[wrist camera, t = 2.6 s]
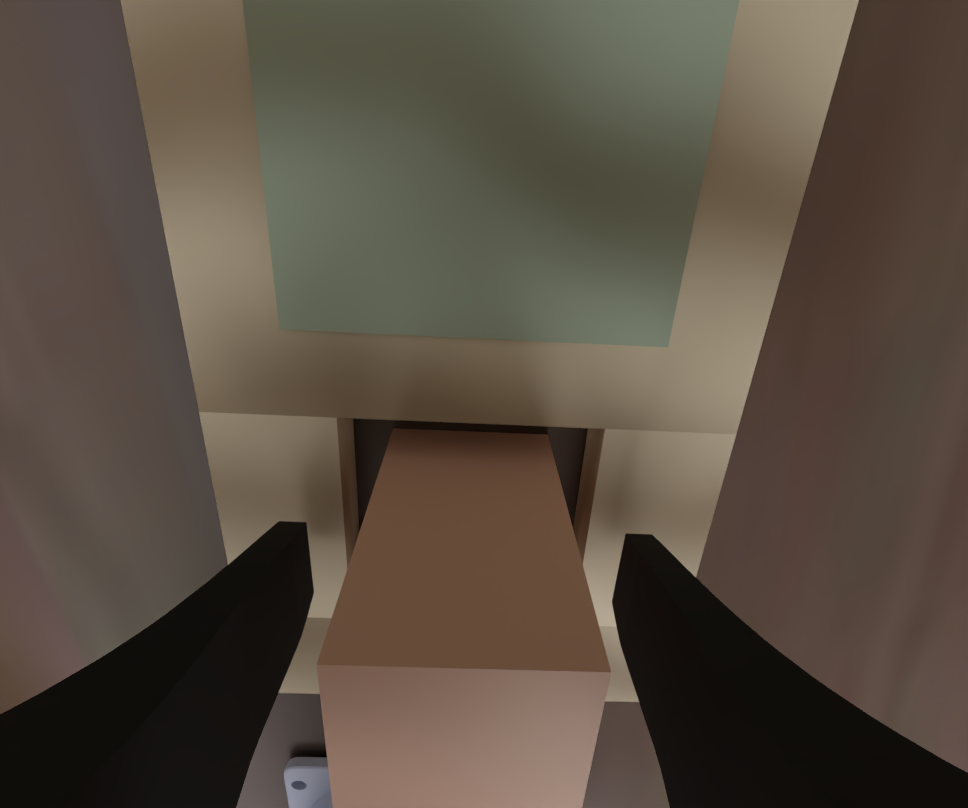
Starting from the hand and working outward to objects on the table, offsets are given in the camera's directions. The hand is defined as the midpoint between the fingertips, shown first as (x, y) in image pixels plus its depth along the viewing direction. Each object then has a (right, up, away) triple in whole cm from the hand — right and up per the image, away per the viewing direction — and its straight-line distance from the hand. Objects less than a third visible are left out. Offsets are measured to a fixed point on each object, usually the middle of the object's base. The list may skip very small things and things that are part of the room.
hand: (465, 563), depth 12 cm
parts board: (0, +5, +1) cm, 5 cm away
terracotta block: (0, +1, +2) cm, 3 cm away
